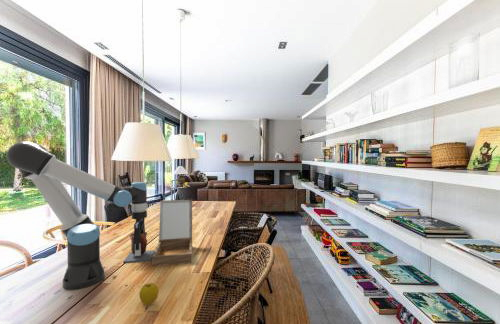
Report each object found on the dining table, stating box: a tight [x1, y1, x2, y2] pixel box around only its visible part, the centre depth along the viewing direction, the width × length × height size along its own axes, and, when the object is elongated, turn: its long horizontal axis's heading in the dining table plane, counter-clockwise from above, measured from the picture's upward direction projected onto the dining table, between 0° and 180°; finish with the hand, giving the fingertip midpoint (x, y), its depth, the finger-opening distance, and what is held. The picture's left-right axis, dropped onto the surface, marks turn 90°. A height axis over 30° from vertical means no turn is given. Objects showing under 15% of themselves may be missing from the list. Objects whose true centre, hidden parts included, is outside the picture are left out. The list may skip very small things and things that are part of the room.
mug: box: [129, 231, 148, 255], centre depth 131 cm, size 12×9×10 cm
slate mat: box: [123, 249, 155, 264], centre depth 132 cm, size 13×13×1 cm
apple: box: [138, 282, 160, 306], centre depth 89 cm, size 6×6×8 cm
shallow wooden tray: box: [151, 237, 193, 267], centre depth 134 cm, size 23×19×6 cm
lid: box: [158, 199, 193, 241], centre depth 149 cm, size 23×19×1 cm
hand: (139, 252), depth 132 cm, fingers closed on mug, 9 cm apart
